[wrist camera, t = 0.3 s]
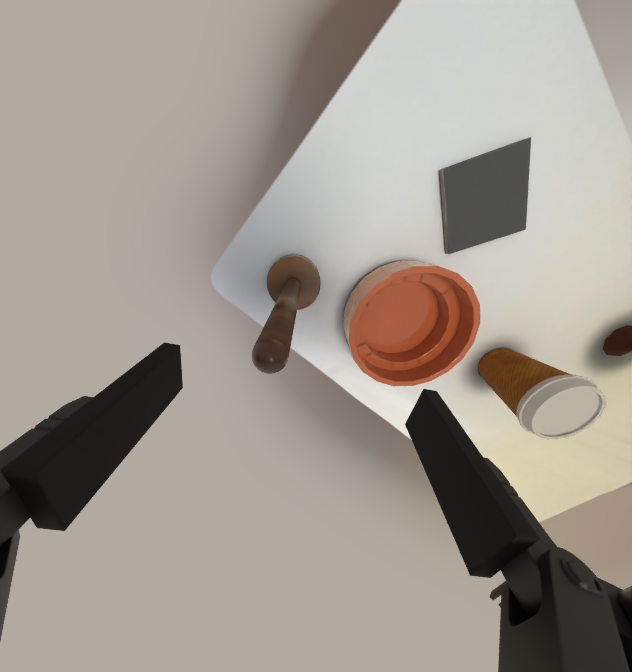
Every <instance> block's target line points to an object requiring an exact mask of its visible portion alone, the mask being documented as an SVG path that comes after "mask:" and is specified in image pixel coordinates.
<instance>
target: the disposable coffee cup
mask: <svg viewBox="0 0 632 672" xmlns="http://www.w3.org/2000/svg"><path fill="white" fill-rule="evenodd" d="M478 372H479V374H480V376H481V377H482V378H483V379H484V380H485V381H486V382H487V384H488V385H489V386H490V387H491V388H492V389H493V390H494V391H495V393H496V394H497V395H498V396H499V397H500V398H501V399H502V400H503V402H504V403H505V404H506V405H507V406H508V407H509V408H510V409H511V411H512V412H513V413H514V414H515V415H516V416H517V418H518V420H519V422H520V425H521V426H522V427H523V428H524V429H525V430H526V431H528V432H531V433H533V434H536V435H537V436H539V437H541V438H545V439H561V438H566V437H569V436H572V435H575V434H577V433H579V432H581V431H583V430H584V429H586V428H587V427H589V426H590V425H591V424H593V423H594V422H595V421H596V420H597V419H598V418H599V416H600V415H601V414H602V412H603V410H604V408H605V405H606V398H605V395H604V393H603V392H602V391H601V390H600V389H598V388H597V386H596V384H595V383H594V382H593V381H592V380H590V379H588V378H585V377H582V376H577V375H571V374H568V373H566V372H563V371H561V370H558V369H556V368H554V367H551V366H549V365H546V364H544V363H542V362H539V361H537V360H535V359H532V358H530V357H527V356H525V355H522V354H520V353H517V352H515V351H513V350H510V349H508V348H498V349H494V350H492V351H490V352H489V353H487V354H486V355H485V356H484V357H483V358H482V359H481V361H480V362H479V365H478Z"/></svg>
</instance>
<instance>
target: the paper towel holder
mask: <svg viewBox="0 0 632 672" xmlns="http://www.w3.org/2000/svg"><path fill="white" fill-rule="evenodd" d="M267 288H268V291H269V294H270V296H271V297H272V299H273V300H274V301H275V302H276V304H275V306H274V308H273V310H272V312H271V314H270V316H269V318H268V320H267V322H266V324H265V326H264V328H263V330H262V332H261V334H260V336H259V338H258V340H257V342H256V344H255V346H254V348H253V351H252V361H253V363H254V365H255V366H256V368H257V369H258V370H260V371H261V372H264V373H269V374H271V373H276V372H278V371H280V370H281V369H283V368H284V367H285V365H286V363H287V361H288V357H289V351H290V346H291V340H292V335H293V329H294V323H295V318H296V312H297V310H299V309H303V308H306V307H307V306H309V305H310V304H312V303H313V302H314V300H315V299H316V298H317V296H318V294H319V290H320V278H319V273H318V270H317V268H316V266H315V265H314V264H313V263H312V262H311V261H310V260H309V259H308V258H306V257H304V256H301V255H294V254H293V255H287V256H285V257H282V258H281V259H279V260H278V261H277V262H276V263H275V264H274V265H273V266H272V267H271V269H270V271H269V273H268V277H267Z"/></svg>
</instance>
